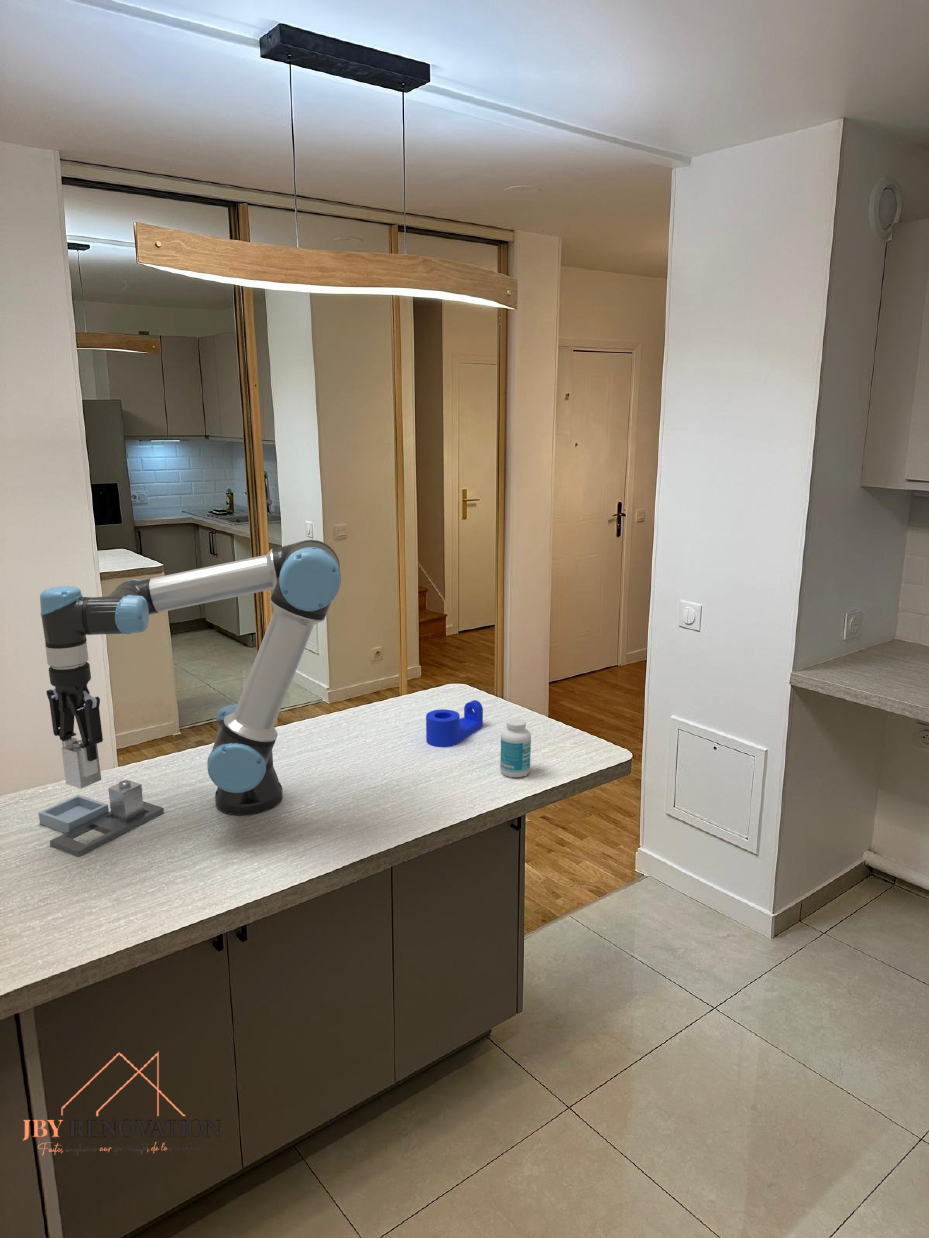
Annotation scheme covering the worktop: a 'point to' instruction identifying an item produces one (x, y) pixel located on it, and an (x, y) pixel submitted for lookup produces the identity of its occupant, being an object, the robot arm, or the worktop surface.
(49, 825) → the tray
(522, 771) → the pill bottle
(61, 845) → the grey slotted plate
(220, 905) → the worktop surface
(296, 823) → the worktop surface
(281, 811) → the worktop surface
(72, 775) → the knobbed metal block
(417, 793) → the worktop surface
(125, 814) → the grey knobbed block
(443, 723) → the bracket
